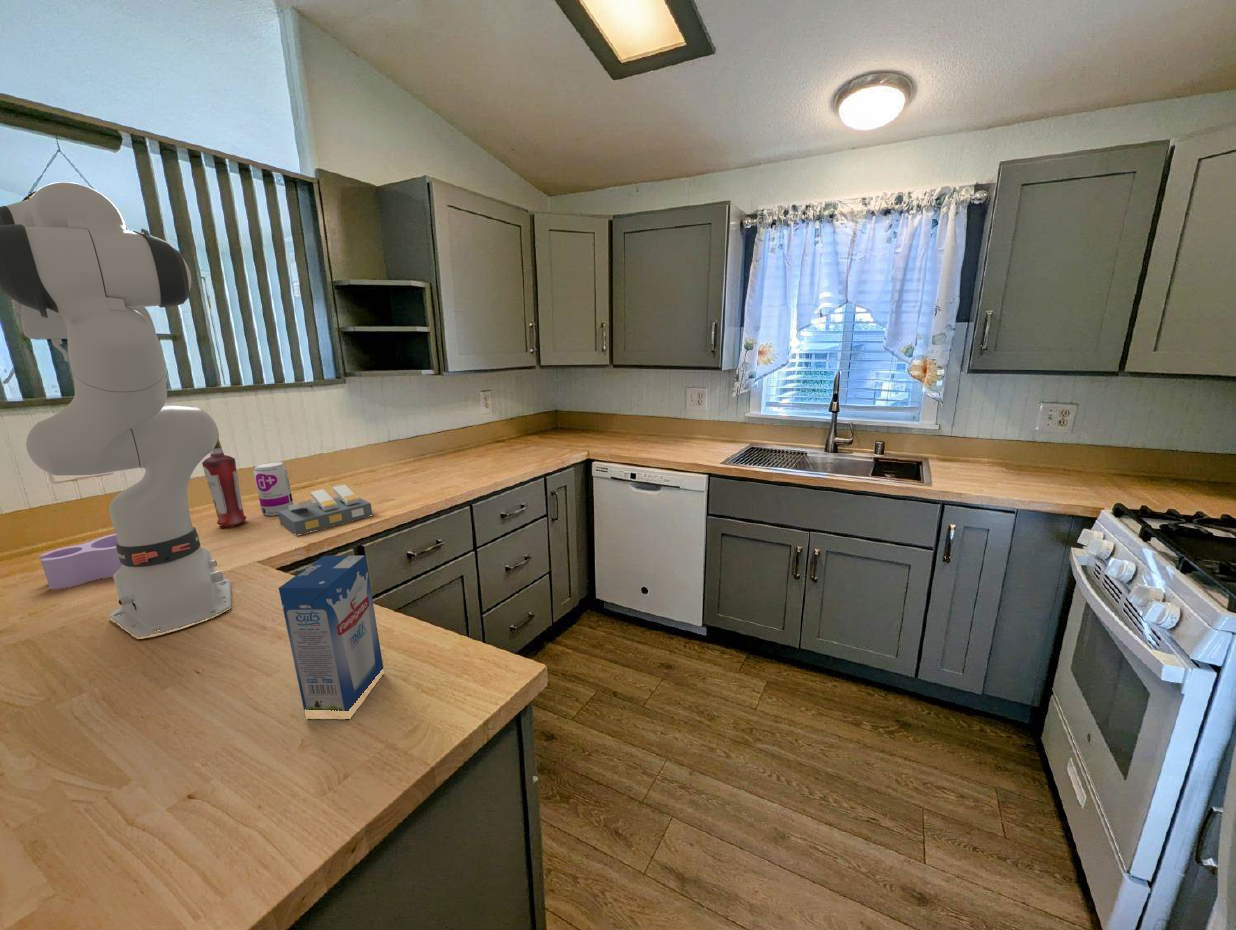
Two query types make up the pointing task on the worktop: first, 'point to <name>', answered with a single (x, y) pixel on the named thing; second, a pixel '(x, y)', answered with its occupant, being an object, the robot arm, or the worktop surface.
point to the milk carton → (332, 631)
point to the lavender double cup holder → (81, 562)
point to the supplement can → (273, 487)
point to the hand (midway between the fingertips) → (101, 359)
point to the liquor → (224, 487)
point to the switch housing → (322, 516)
